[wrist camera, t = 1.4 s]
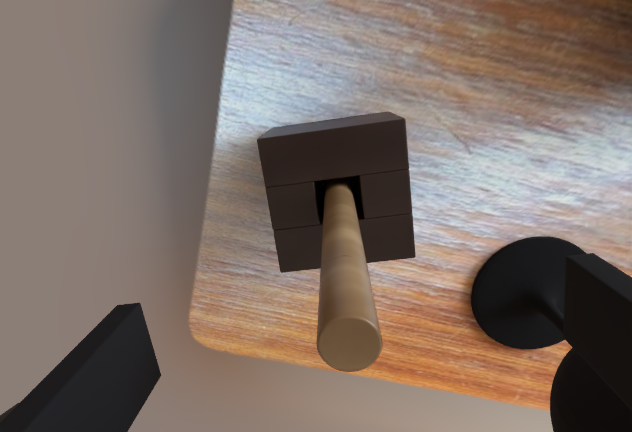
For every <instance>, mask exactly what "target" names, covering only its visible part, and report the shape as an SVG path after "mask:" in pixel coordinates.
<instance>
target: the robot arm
mask: <svg viewBox="0 0 632 432" xmlns="http://www.w3.org/2000/svg"><path fill="white" fill-rule="evenodd" d="M563 338H564V339H565V340H566V341H567V342H568V343H569V344H570V345H571V346H572V347H573V348H574V349H575V350H576V351H577V353H578V354H579V355H580V356H581V357H582V358H583V359H584V360H585V361H586V362H587V363H588V364H589V365H590V366H591V368H592V369H593V370H594V371H595V372H596V373H597V374H598V375H599V376H600V377H601V378H602V379H603V380H604V382H605V383H606V384H607V385H608V386H609V387H610V388H611V389H612V390H613V391H614V392H615V393H616V394H617V395H618V397H619V398H620V399H621V400H622V401H623V402H624V403H625V404H626V405H627V406H628V407H629V408H630V409H631V410H632V277H630V276H629V275H627V274H625V273H624V272H622V271H621V270H619V269H617V268H616V267H614V266H613V265H611V264H609V263H608V262H606V261H605V260H603V259H601V258H600V257H598V256H597V255H595V254H594V253H590V254H581V255H572V256H566V269H565V297H564V324H563ZM160 376H161V373H160V370H159V366H158V363H157V359H156V356H155V353H154V349H153V346H152V342H151V339H150V335H149V332H148V328H147V325H146V322H145V318H144V315H143V311H142V308H141V304H140V303H134V304H124V305H117V306H116V307H115V308H114V309H113V310H112V311H111V312H110V313H109V314H108V315H107V316H106V317H105V318H104V319H103V320H102V321H101V322H100V323H99V324H98V325H97V326H96V327H95V328H94V329H93V330H92V331H91V332H90V333H89V334H88V335H87V336H86V337H85V338H84V339H83V340H82V341H81V342H80V343H79V344H78V345H77V346H76V347H75V348H74V349H73V350H72V351H71V352H70V353H69V354H68V355H67V356H66V357H65V358H64V359H63V360H62V361H61V362H60V363H59V364H58V365H57V366H56V367H55V368H54V369H53V370H52V371H51V372H50V373H49V374H48V375H47V376H46V377H45V378H44V379H43V380H42V381H41V382H40V383H39V384H38V385H37V386H36V388H34V389H33V390H32V391H31V392H30V394H28V395H27V396H26V397H25V398H24V399H23V400H22V401H21V402H20V403H18V404H16V405H15V406H13V407H12V408H10V409H9V410H8V411H6V412H5V413H3V414H2V415H0V432H127V431H128V430H129V428H130V426H131V425H132V423H133V421H134V420H135V418H136V416H137V414H138V413H139V411H140V410H141V408H142V406H143V405H144V403H145V401H146V400H147V398H148V396H149V395H150V393H151V391H152V390H153V388H154V386H155V385H156V383H157V381H158V380H159V378H160Z"/></svg>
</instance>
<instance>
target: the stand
mask: <svg viewBox="0 0 632 432" xmlns="http://www.w3.org/2000/svg"><path fill="white" fill-rule="evenodd" d="M257 143H258V149H259V154H260V160H261V165H262V171H263V176H264V182H265V187H266V193H267V199H268V204H269V210H270V216H271V221H272V227H273V230H274V231H273V232H274V238H275V243H276V249H277V254H278V260H279V266H280V271H281V272H291V271H300V270H309V269H318V268H321V255H322V237H323V219H324V202H325V197H322V193H321V186H320V180H328V179H335V178H343V177H351V176H356V184H357V193H353V198H354V203H355V208H356V213H357V218H358V223H359V228H360V233H361V237H362V242H363V247H364V252H365V257H366V262H367V263H371V262H379V261H388V260H397V259H406V258H414V257H415V244H414V230H413V217H412V203H411V189H410V176H409V162H408V148H407V135H406V121H405V119H404V118H402V117H400V116H397V115H395V114H393V113H391V112H383V113H375V114H368V115H361V116H354V117H347V118H340V119H332V120H325V121H318V122H311V123H304V124H296V125H289V126H282V127H275V128H272V129H271V130H269V131H268V132H266V133H265V134H264V135H262V136H261V137H259V138H258V139H257Z"/></svg>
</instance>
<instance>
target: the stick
mask: <svg viewBox="0 0 632 432" xmlns="http://www.w3.org/2000/svg"><path fill="white" fill-rule="evenodd" d="M317 349H318V352H319V354H320V356H321V358H322V359H323V360H324V361H325V362H326V363H327V364H328V365H329V366H331V367H333V368H335V369H337V370H340V371H346V372H354V371H359V370H362V369H365V368H366V367H368V366H370V365H371V364H372V363H373V362H374V361H375V360H376V359H377V358H378V356H379V354H380V352H381V349H382V336H381V331H380V326H379V322H378V317H377V312H376V307H375V302H374V297H373V292H372V287H371V282H370V277H369V272H368V267H367V262H366V257H365V252H364V247H363V242H362V237H361V233H360V228H359V223H358V218H357V213H356V208H355V203H354V198H353V193H352V188H351V183H350V178H349V177H343V178H335V179H328V180H326V184H325V202H324V219H323V237H322V255H321V273H320V291H319V308H318V326H317Z"/></svg>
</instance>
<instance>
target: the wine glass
mask: <svg viewBox="0 0 632 432" xmlns="http://www.w3.org/2000/svg"><path fill="white" fill-rule="evenodd" d="M581 254H586V253H585V252H584V251H583V250H581V249H580V248H579V247H577V246H576V245H574V244H572V243H570V242H568V241H565V240H562V239H559V238H554V237H531V238H526V239H522V240H519V241H516V242H514V243H512V244H509V245H507V246H506V247H504V248H502V249H501V250H499V251H498V252H497V253H495V254H494V255H493V256H492V257H491V258H490V259H489V260H488V261H487V262H486V263H485V264H484V265H483V267H482V268H481V270H480V271H479V273H478V275H477V277H476V279H475V281H474V284H473V288H472V295H471V304H472V310H473V314H474V316H475V318H476V321H477V322H478V324H479V325H480V327H481V328H482V330H483V331H484V332H485V333H486V334H487V335H488V336H489V337H491V338H492V339H494V340H495V341H497V342H499V343H501V344H503V345H506V346H509V347H512V348H519V349H537V348H543V347H547V346H551V345H554V344H556V343H559V342H561V341H563V340H565V339H564V338H563V324H564V297H565V269H566V256H572V255H581ZM550 414H551V421H552V426H553V431H554V432H632V410H631V409H630V408H629V407H628V406H627V405H626V404H625V403H624V402H623V401H622V400H621V399H620V398H619V397H618V395H617V394H616V393H615V392H614V391H613V390H612V389H611V388H610V387H609V386H608V385H607V384H606V383H605V382H604V380H603V379H602V378H601V377H600V376H599V375H598V374H597V373H596V372H595V371H594V370H593V369H592V368H591V366H590V365H589V364H588V363H587V362H586V361H585V360H584V359H583V358H582V357H581V356H580V355H579V354H578V353H577V351H576V350H575V349H574V348H572V349H571V350H570V351H569V352H568V353H567V355H566V356H565V357H564V359H563V360H562V362H561V364H560V365H559V367H558V369H557V372H556V374H555V377H554V380H553V384H552V389H551V397H550Z"/></svg>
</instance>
